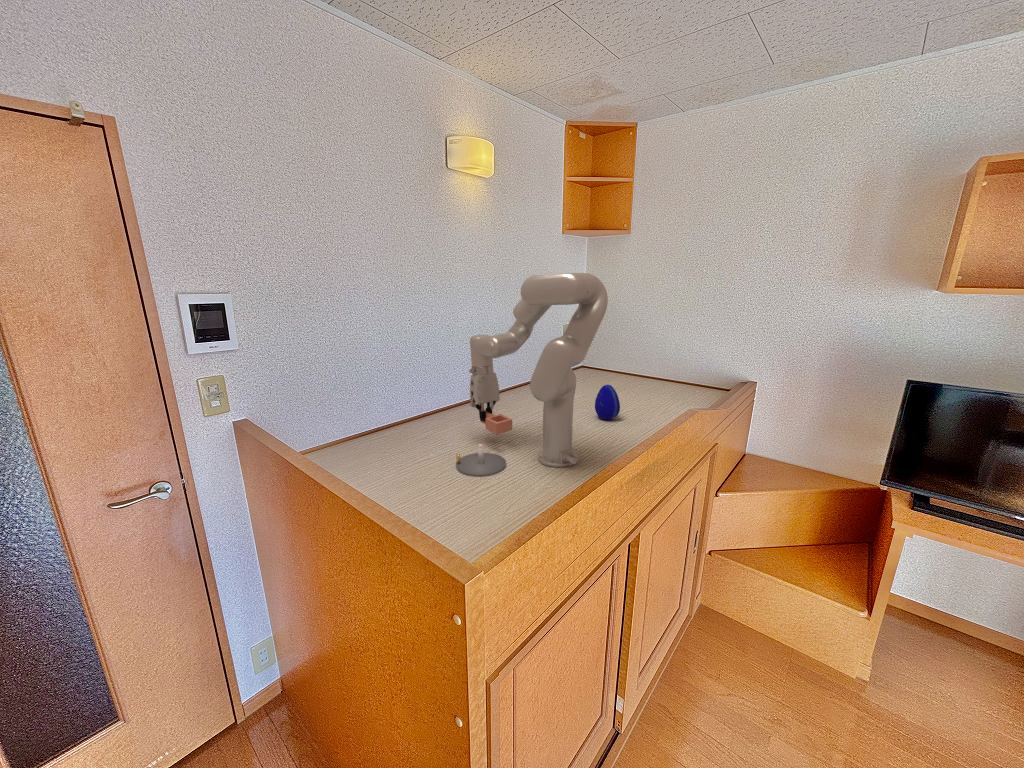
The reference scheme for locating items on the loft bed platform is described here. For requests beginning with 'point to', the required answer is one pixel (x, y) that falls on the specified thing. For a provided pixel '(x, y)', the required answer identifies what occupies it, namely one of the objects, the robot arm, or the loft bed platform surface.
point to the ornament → (607, 403)
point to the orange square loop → (497, 423)
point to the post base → (481, 468)
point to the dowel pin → (458, 458)
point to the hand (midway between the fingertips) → (486, 419)
